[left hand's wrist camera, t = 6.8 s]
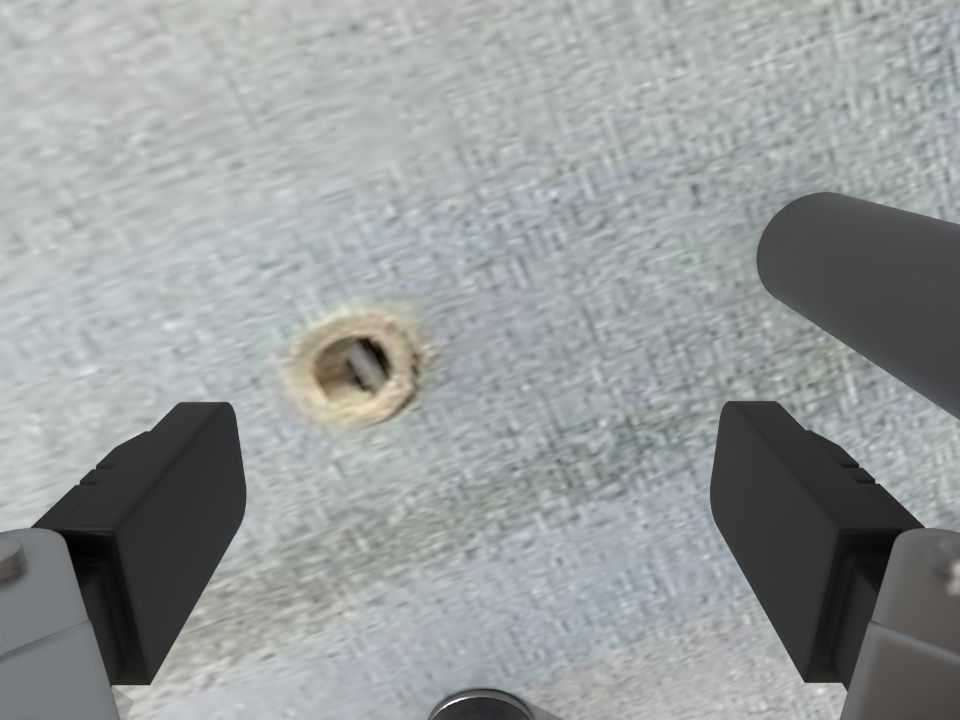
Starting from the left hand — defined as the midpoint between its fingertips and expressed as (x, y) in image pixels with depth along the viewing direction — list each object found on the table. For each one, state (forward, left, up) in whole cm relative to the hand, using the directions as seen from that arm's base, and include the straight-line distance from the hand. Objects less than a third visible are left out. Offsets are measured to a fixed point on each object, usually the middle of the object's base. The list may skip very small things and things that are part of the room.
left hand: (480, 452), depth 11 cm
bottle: (-3, -21, -33) cm, 39 cm away
